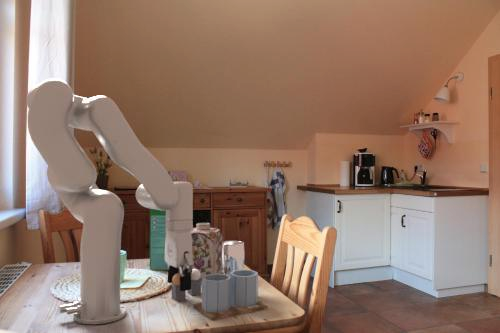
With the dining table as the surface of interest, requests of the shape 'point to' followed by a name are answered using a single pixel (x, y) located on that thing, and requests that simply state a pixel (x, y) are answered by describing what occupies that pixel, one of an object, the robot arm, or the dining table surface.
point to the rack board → (230, 310)
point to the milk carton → (157, 240)
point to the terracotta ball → (176, 279)
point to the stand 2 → (195, 287)
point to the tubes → (229, 290)
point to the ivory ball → (195, 275)
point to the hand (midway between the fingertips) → (179, 285)
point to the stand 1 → (178, 293)
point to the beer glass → (232, 256)
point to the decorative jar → (206, 249)
